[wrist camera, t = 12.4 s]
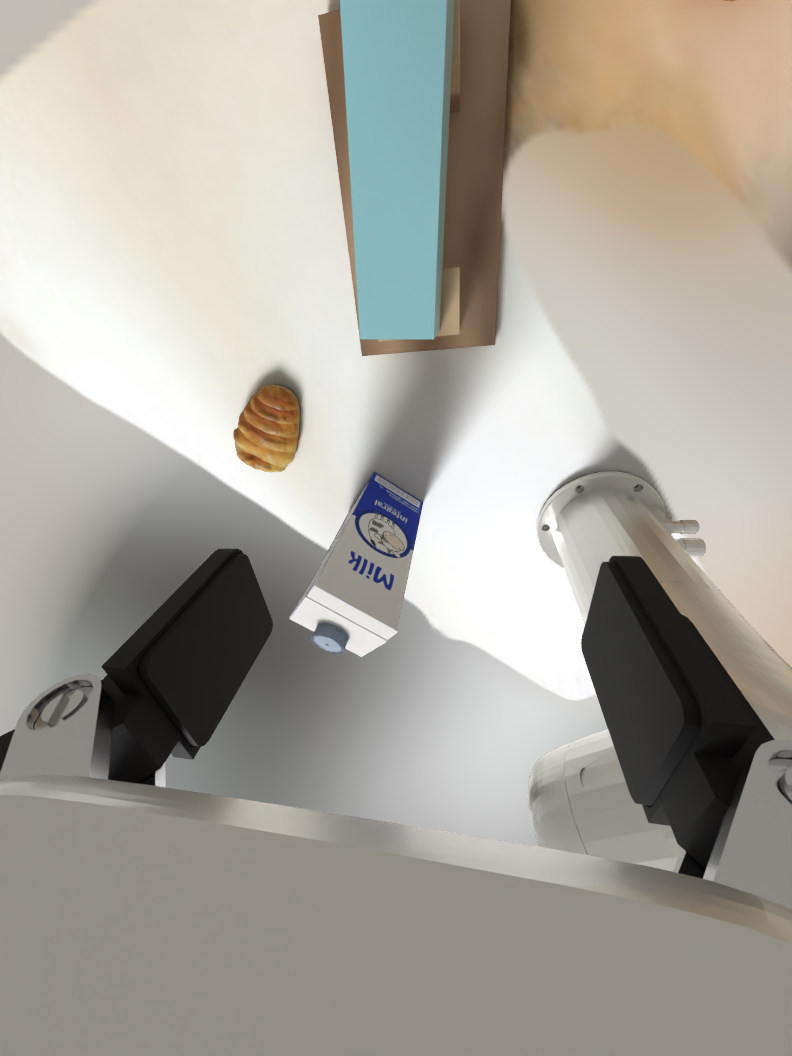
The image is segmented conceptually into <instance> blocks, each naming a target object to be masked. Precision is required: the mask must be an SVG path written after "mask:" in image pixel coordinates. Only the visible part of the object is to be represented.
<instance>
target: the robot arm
mask: <svg viewBox="0 0 792 1056" xmlns="http://www.w3.org/2000/svg"><path fill="white" fill-rule="evenodd" d="M579 485H580V486H579ZM577 486H579V487H577ZM698 530H699V524H698V522H697V521H696V520H680V521H672V520H671V519H670V518H668V517H667V516H666V515H665V507H664V504H663V501H662V499H661V497H660V496H659V494H658V493H657V492H656V490H655V489H654V488H653V487H652V486H651V485H649V484H648V483H647V482H646V481H644V480H642V479H641V478H639V477H637V476H634V475H631V474H628V473H622V472H615V471H614V472H598V473H593V474H588V475H585V476H582V477H579V478H577V479H575V480H573V481H571V482H569V483H567V484H566V485H564V486H563V487H561V488H560V489H559V490H557V491H556V492H555V493H554V494H553V495H552V496H551V497H550V498H549V499H548V501H547V502H546V504H545V505H544V506H543V508H542V510H541V513H540V515H539V518H538V523H537V535H538V539H539V543H540V545H541V547H542V549H543V551H544V552H545V554H546V555H547V556H548V557H549V558H550V559H551V560H552V561H553V562H555V563H556V564H558V565H560V566H561V567H564V569H565V571H566V574H567V577H568V580H569V582H570V585H571V588H572V590H573V593H574V596H575V598H576V601H577V604H578V607H579V609H580V612H581V615H582V617H583V620H584V623H585V628H584V632H583V635H582V642H581V644H582V652H583V655H584V658H585V661H586V664H587V667H588V670H589V673H590V676H591V679H592V682H593V685H594V688H595V691H596V694H597V697H598V700H599V703H600V706H601V709H602V712H603V715H604V718H605V721H606V724H607V727H608V729H607V730H604V731H601V732H598V733H595V734H592V735H589V736H586V737H584V738H581V739H578V740H575V741H573V742H570V743H568V744H565V745H562V746H560V747H557V748H555V749H553V750H551V751H550V752H548V753H546V754H545V755H544V756H542V757H541V758H540V759H539V760H538V761H537V763H536V764H535V765H534V767H533V769H532V772H531V774H530V777H529V782H528V793H527V795H528V807H529V814H530V819H531V823H532V826H533V830H534V834H535V837H536V840H537V843H538V846H539V847H538V846H532V845H526V844H520V843H513V842H508V841H501V840H495V839H489V838H483V837H476V836H471V835H464V834H458V833H452V832H445V831H440V830H434V829H428V828H421V827H415V826H409V825H403V824H396V823H390V822H383V821H378V820H371V819H364V818H359V817H352V816H346V815H340V814H333V813H327V812H320V811H314V810H308V809H302V808H295V807H289V806H283V805H276V804H269V803H263V802H257V801H250V800H243V799H237V798H230V797H224V796H217V795H211V794H204V793H198V792H191V791H185V790H178V789H171V788H166V776H165V761H166V759H167V758H168V756H169V755H170V753H171V754H172V755H173V756H174V757H179V758H185V759H194V757H195V755H196V754H197V752H198V750H199V749H200V747H201V746H204V745H205V744H206V743H207V742H208V741H209V739H210V738H211V736H212V734H213V732H214V730H215V729H216V727H217V725H218V724H219V722H220V720H221V719H222V717H223V715H224V713H225V712H226V710H227V708H228V706H229V705H230V703H231V701H232V699H233V698H234V696H235V694H236V693H237V691H238V689H239V687H240V686H241V684H242V682H243V680H244V679H245V677H246V675H247V673H248V672H249V670H250V668H251V667H252V665H253V663H254V661H255V660H256V658H257V656H258V654H259V653H260V651H261V649H262V648H263V646H264V644H265V642H266V641H267V639H268V637H269V635H270V634H271V631H272V627H273V622H272V618H271V616H270V614H269V611H268V608H267V605H266V603H265V600H264V597H263V595H262V592H261V590H260V587H259V584H258V582H257V579H256V577H255V574H254V571H253V569H252V566H251V563H250V561H249V559H248V556H246V555H245V554H243V553H242V551H241V550H239V549H218V550H216V551H215V552H214V553H213V554H212V555H211V556H210V557H209V558H208V559H207V560H206V561H205V562H204V563H203V564H202V565H201V566H200V567H199V568H198V569H197V570H196V571H195V572H194V573H193V574H192V575H191V576H190V577H189V578H188V579H187V580H186V581H185V582H184V583H183V584H182V585H181V587H179V588H178V589H177V590H176V591H175V592H174V594H172V595H171V596H170V597H169V599H168V600H167V601H166V602H165V603H164V604H163V605H162V606H161V607H160V608H159V609H158V610H157V611H156V612H155V613H154V614H153V615H152V616H151V617H150V618H149V619H148V620H147V621H146V622H145V623H144V624H143V625H142V626H141V627H140V628H139V629H138V630H137V631H136V632H135V633H134V634H133V635H132V636H131V637H130V638H129V639H128V640H127V641H126V642H125V643H124V644H123V645H122V646H121V647H120V648H119V649H118V651H116V652H115V653H114V654H113V655H112V656H111V657H110V658H109V659H108V661H106V662H105V664H104V665H103V666H102V668H103V669H104V670H105V672H106V673H107V674H108V675H107V676H106V677H105V678H104V679H103V680H101V679H100V678H99V677H98V676H97V675H94V674H80V675H76V676H73V677H70V678H67V679H65V680H63V681H61V682H59V683H57V684H55V685H53V686H52V687H50V688H49V689H47V690H46V691H44V692H43V693H42V694H40V695H39V696H38V697H37V698H36V699H35V700H33V701H32V702H31V703H30V704H29V706H28V707H27V708H26V709H25V710H24V712H23V713H22V715H21V717H20V718H19V720H18V722H17V726H16V728H15V729H14V730H12V731H10V732H8V733H6V734H4V735H2V736H0V1056H792V667H790V665H789V664H787V663H786V662H785V661H784V660H783V659H782V658H781V657H780V656H779V655H778V654H777V653H776V652H775V651H774V649H772V647H771V646H770V645H769V644H768V643H767V642H766V641H765V640H764V639H763V638H762V637H761V636H760V635H759V634H758V633H757V631H756V630H755V629H754V628H753V627H752V626H751V625H750V624H749V623H748V622H747V621H746V620H745V619H744V617H742V615H741V614H740V613H739V612H738V611H737V610H736V609H735V607H734V606H733V605H732V604H731V603H730V602H729V600H728V599H727V598H726V597H725V596H724V595H723V594H722V593H721V592H720V590H719V589H718V588H717V587H716V586H715V585H714V584H713V582H711V580H710V579H709V578H708V577H707V576H706V574H705V573H704V572H703V571H702V570H701V569H700V568H699V566H698V565H697V564H696V563H695V562H694V561H693V560H692V558H691V557H702V556H703V555H704V553H705V550H706V546H705V543H704V541H703V540H702V539H695V538H693V539H692V538H681V539H674V538H673V537H672V535H671V534H672V533H680V534H696V533H697V532H698Z"/></svg>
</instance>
